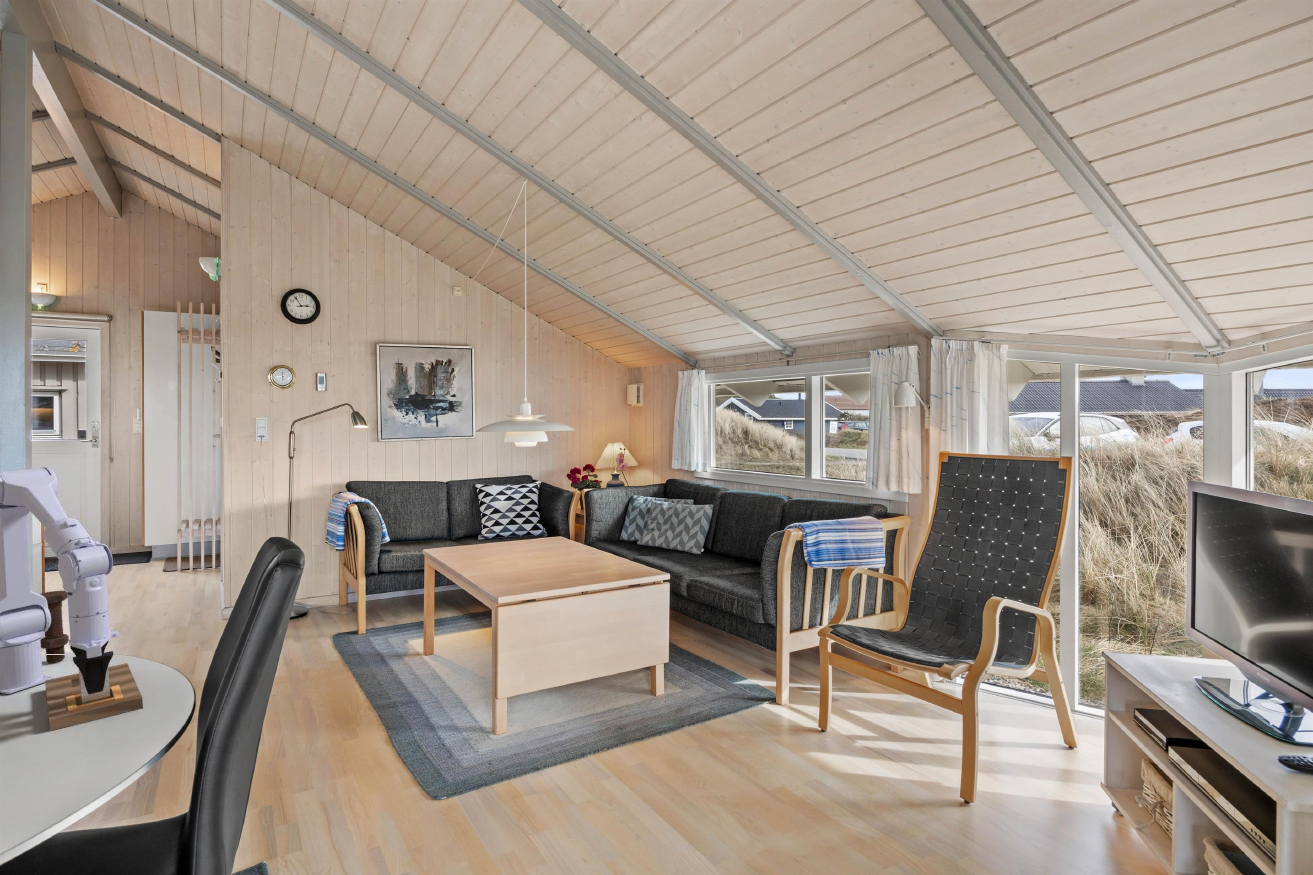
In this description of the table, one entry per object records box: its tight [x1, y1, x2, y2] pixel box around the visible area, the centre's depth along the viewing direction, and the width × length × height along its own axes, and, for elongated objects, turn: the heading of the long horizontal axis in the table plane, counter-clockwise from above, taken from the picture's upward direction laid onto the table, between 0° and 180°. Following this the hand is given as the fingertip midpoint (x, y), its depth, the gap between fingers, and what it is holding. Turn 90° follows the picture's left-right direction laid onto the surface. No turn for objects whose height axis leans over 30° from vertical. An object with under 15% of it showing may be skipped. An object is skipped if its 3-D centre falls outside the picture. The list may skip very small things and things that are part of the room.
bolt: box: [39, 590, 70, 664], centre depth 157 cm, size 6×5×15 cm
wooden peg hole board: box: [44, 662, 144, 732], centre depth 136 cm, size 24×13×2 cm, turn 42°
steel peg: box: [78, 668, 110, 705], centre depth 132 cm, size 4×4×8 cm
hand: (93, 686), depth 131 cm, fingers open, 7 cm apart
